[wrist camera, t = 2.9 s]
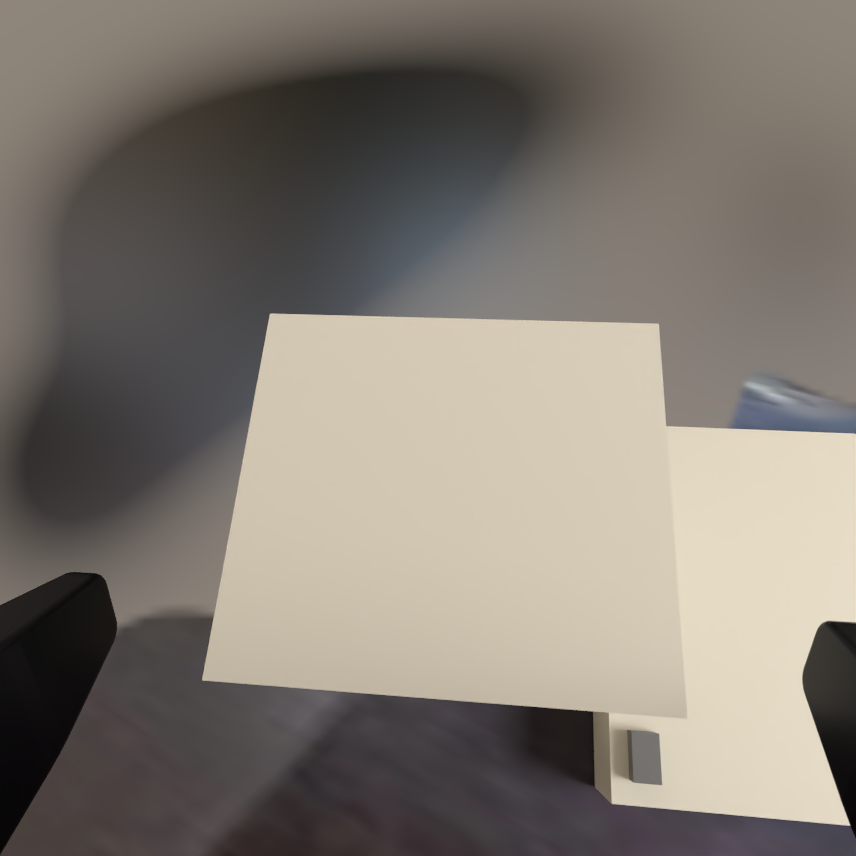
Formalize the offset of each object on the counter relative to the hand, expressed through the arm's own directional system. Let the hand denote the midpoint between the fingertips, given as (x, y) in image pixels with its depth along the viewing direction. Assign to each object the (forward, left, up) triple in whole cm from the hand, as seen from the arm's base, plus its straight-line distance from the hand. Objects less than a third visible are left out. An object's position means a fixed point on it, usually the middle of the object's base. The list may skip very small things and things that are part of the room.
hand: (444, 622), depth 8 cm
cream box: (+1, +1, -10) cm, 10 cm away
